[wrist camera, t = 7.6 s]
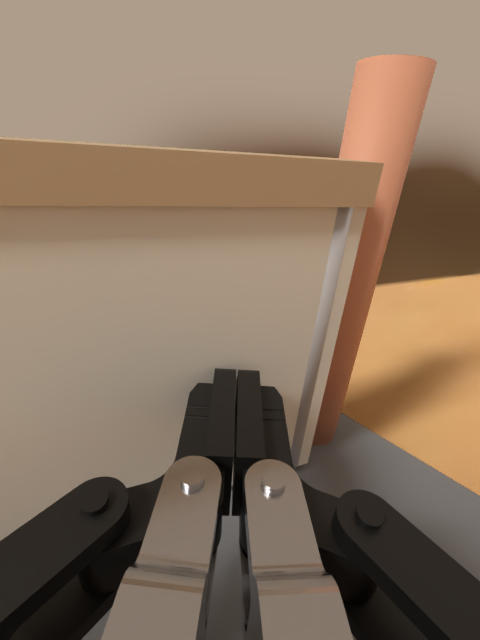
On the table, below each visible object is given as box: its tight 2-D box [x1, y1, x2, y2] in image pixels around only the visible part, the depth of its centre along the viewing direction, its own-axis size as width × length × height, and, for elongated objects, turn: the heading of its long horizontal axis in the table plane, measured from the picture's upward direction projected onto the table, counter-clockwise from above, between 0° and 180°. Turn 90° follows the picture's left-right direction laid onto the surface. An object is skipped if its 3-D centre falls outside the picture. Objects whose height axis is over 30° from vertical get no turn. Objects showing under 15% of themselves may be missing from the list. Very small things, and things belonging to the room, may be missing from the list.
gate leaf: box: [0, 137, 384, 541], centre depth 11 cm, size 14×2×13 cm, turn 111°
